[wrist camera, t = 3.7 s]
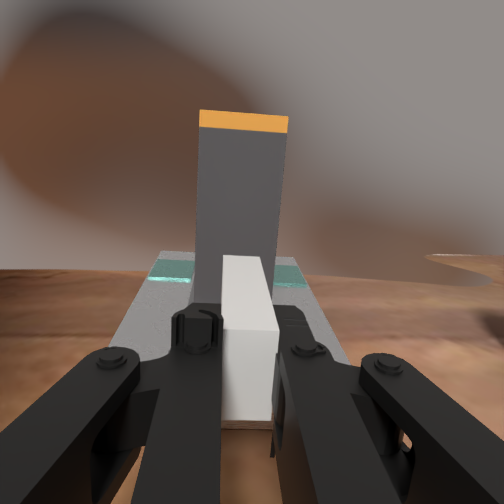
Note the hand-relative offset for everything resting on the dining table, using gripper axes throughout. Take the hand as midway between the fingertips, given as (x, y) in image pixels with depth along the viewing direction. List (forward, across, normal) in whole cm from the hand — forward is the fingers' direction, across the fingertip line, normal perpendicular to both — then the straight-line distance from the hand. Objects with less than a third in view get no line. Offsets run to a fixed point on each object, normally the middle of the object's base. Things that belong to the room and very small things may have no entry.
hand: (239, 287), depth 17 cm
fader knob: (+7, 0, -6) cm, 9 cm away
